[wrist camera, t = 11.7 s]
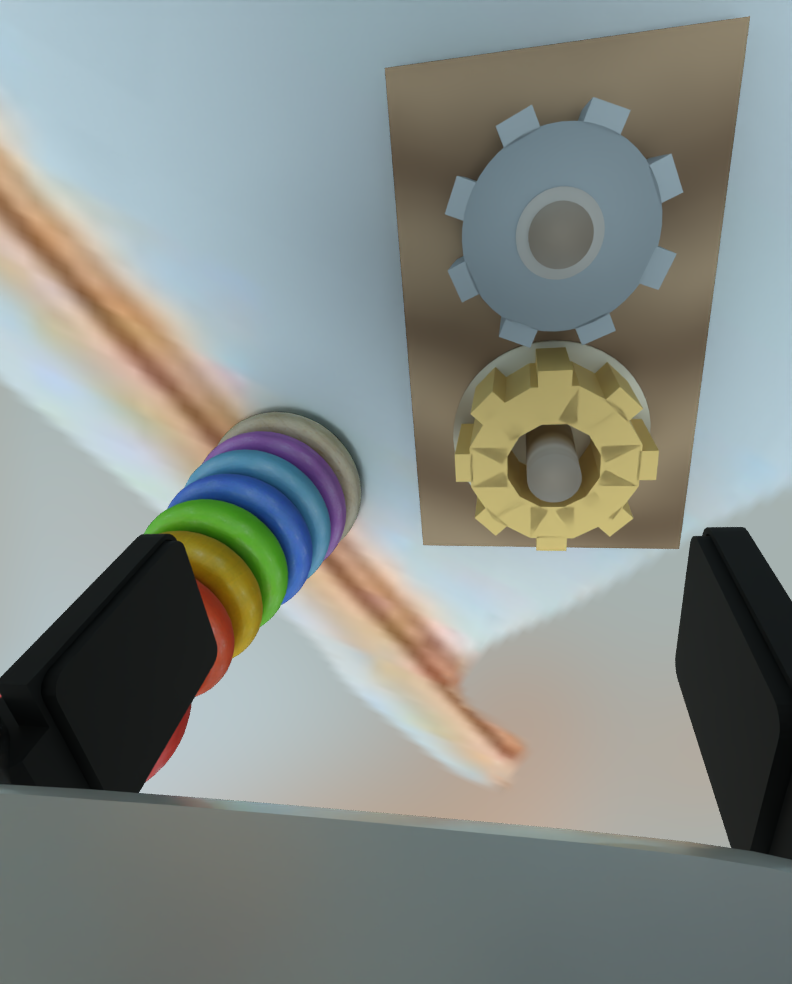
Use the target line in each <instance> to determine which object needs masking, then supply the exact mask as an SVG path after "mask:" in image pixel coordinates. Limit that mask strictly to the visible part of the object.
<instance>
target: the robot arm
mask: <svg viewBox="0 0 792 984" xmlns="http://www.w3.org/2000/svg"><path fill="white" fill-rule="evenodd" d="M217 652H218V649H217V642H216V639H215V636H214V633H213V630H212V627H211V624H210V621H209V618H208V615H207V612H206V609H205V606H204V603H203V600H202V597H201V594H200V591H199V588H198V585H197V582H196V579H195V576H194V573H193V570H192V567H191V564H190V561H189V558H188V555H187V552H186V549H185V547H184V544H183V543H182V542H180V541H177V540H176V538H175V537H174V536H173V535H171V534H142V535H140V536H139V537H137V538H136V539H135V540H134V541H133V542H132V543H131V545H129V546H128V547H127V549H126V550H125V551H124V552H123V553H122V554H121V555H120V556H119V557H118V558H117V559H116V560H115V561H114V562H113V563H112V564H111V565H110V566H109V567H108V568H107V569H106V570H105V571H104V572H103V573H102V574H101V575H100V576H99V577H98V578H97V579H96V580H95V581H94V582H93V583H92V584H91V585H90V586H89V587H88V588H87V589H86V591H84V593H83V594H82V595H81V596H80V597H79V598H78V599H77V600H76V601H75V602H74V603H73V604H72V605H71V606H70V607H69V608H68V609H67V610H66V611H65V612H64V613H63V614H62V615H61V616H60V617H59V618H58V619H57V620H56V621H55V622H54V623H53V624H52V625H51V626H50V627H49V628H48V630H46V631H45V633H43V634H42V635H41V636H40V638H39V639H38V640H37V641H36V642H35V643H34V644H33V645H32V646H31V647H30V648H29V649H28V650H27V651H26V652H25V653H24V654H23V655H22V656H21V657H20V658H19V659H18V660H17V661H16V662H15V663H14V664H13V665H12V666H11V667H10V668H9V669H8V670H7V671H6V672H5V673H4V674H3V675H2V676H1V678H0V694H1V697H0V984H792V601H791V599H790V598H789V596H788V595H787V593H786V592H785V590H784V588H783V587H782V585H781V583H780V582H779V580H778V579H777V577H776V576H775V574H774V572H773V571H772V569H771V568H770V566H769V564H768V563H767V561H766V560H765V558H764V557H763V555H762V553H761V552H760V550H759V549H758V547H757V545H756V544H755V542H754V541H753V539H752V537H751V536H750V534H749V533H748V531H747V530H746V529H745V528H743V527H707V528H706V529H704V532H703V535H702V536H693V537H692V539H691V542H690V549H689V557H688V565H687V572H686V580H685V587H684V595H683V603H682V610H681V619H680V626H679V634H678V641H677V649H676V658H675V661H676V662H675V663H676V664H675V665H676V674H677V678H678V682H679V685H680V688H681V691H682V694H683V697H684V701H685V704H686V707H687V710H688V713H689V716H690V719H691V722H692V726H693V729H694V732H695V735H696V738H697V741H698V745H699V748H700V751H701V754H702V757H703V760H704V764H705V766H706V770H707V773H708V776H709V779H710V782H711V785H712V788H713V792H714V795H715V798H716V801H717V804H718V808H719V811H720V814H721V817H722V820H723V823H724V827H725V830H726V833H727V836H728V839H729V842H730V845H731V848H727V847H720V846H713V845H706V844H700V843H693V842H685V841H675V840H665V839H656V838H647V837H637V836H628V835H618V834H609V833H599V832H590V831H580V830H571V829H560V828H548V827H537V826H525V825H514V824H503V823H492V822H481V821H470V820H458V819H447V818H436V817H424V816H413V815H402V814H389V813H378V812H366V811H354V810H342V809H331V808H318V807H306V806H294V805H281V804H270V803H258V802H246V801H234V800H221V799H208V798H195V797H182V796H169V795H156V794H143V793H139V792H140V790H141V788H142V787H143V785H144V783H145V781H146V780H147V778H148V776H149V775H150V773H151V771H152V769H153V768H154V766H155V764H156V763H157V761H158V759H159V758H160V756H161V754H162V752H163V751H164V749H165V747H166V746H167V744H168V742H169V740H170V739H171V737H172V735H173V734H174V732H175V730H176V728H177V727H178V725H179V723H180V722H181V720H182V718H183V716H184V715H185V713H186V711H187V710H188V708H189V706H190V704H191V703H192V701H193V699H194V697H195V696H196V694H197V692H198V691H199V689H200V687H201V686H202V684H203V682H204V680H205V679H206V677H207V675H208V674H209V672H210V670H211V668H212V667H213V665H214V663H215V661H216V658H217Z"/></svg>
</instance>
